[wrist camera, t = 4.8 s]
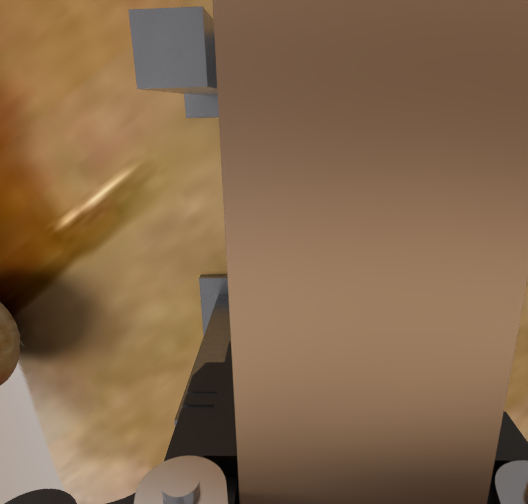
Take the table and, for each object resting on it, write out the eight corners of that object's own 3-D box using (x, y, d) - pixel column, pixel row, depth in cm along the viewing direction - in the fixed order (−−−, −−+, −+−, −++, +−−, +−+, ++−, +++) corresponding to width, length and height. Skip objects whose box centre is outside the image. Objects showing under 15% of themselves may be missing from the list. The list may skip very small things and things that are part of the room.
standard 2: (181, 32, 27) (82, -35, 14) (347, 26, 27) (408, -51, 13) (188, 117, 29) (105, 129, 16) (344, 113, 28) (397, 121, 15)
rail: (235, -203, 6) (184, -510, 3) (475, -217, 6) (679, -556, 3) (266, 704, 12) (260, 898, 9) (381, 709, 12) (413, 907, 9)
